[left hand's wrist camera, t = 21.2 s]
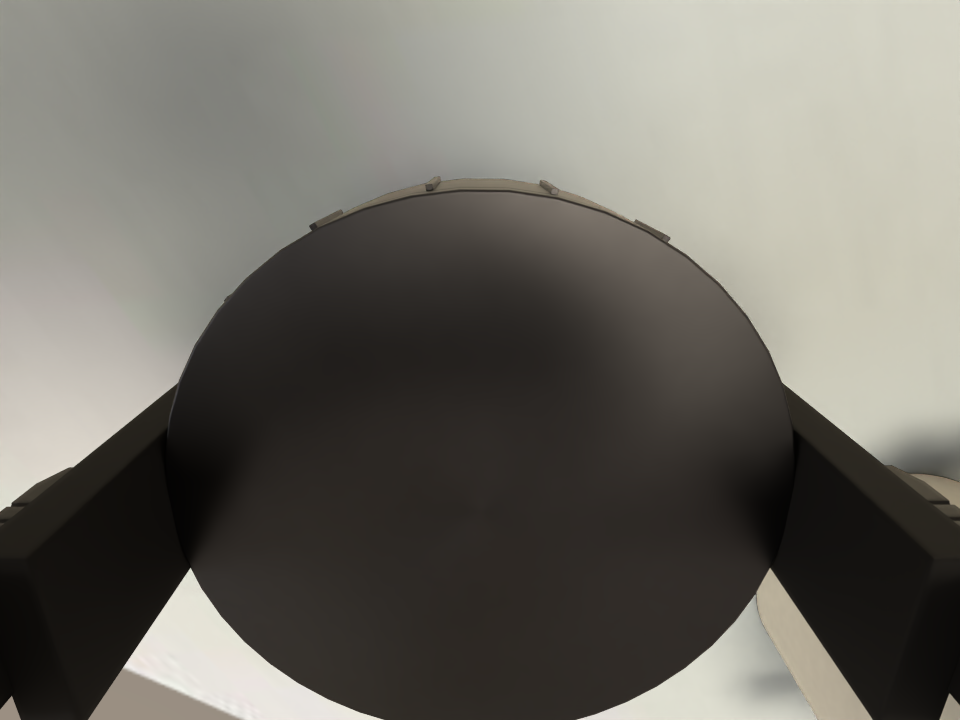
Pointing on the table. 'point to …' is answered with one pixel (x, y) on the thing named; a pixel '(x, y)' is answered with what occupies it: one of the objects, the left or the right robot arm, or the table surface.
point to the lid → (480, 456)
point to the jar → (807, 656)
